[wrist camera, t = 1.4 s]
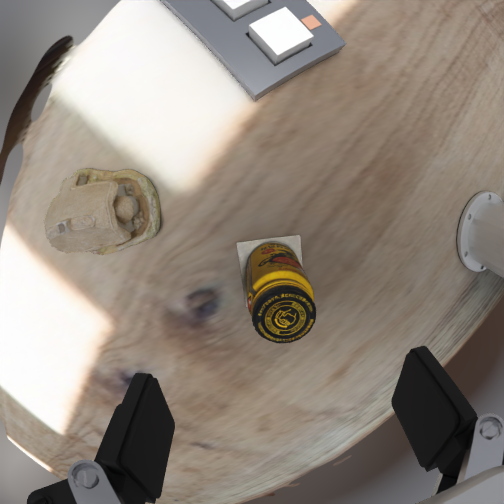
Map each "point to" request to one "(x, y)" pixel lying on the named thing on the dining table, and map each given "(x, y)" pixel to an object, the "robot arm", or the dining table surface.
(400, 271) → the dining table surface
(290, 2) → the keypad
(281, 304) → the condiment
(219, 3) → the key
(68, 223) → the ceramic model
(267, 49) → the key
